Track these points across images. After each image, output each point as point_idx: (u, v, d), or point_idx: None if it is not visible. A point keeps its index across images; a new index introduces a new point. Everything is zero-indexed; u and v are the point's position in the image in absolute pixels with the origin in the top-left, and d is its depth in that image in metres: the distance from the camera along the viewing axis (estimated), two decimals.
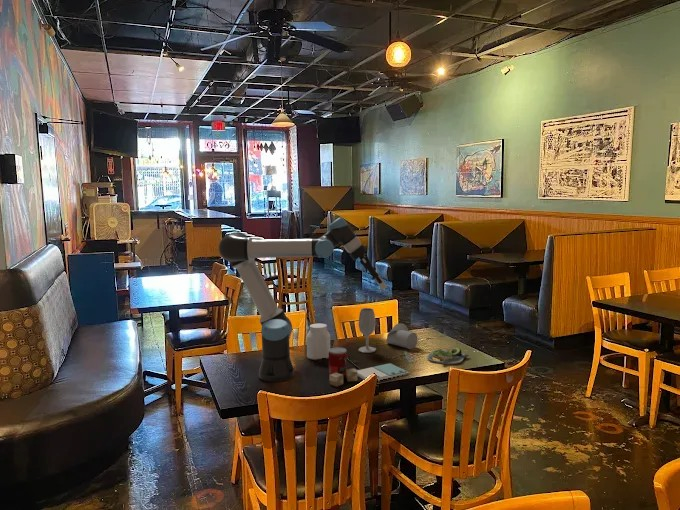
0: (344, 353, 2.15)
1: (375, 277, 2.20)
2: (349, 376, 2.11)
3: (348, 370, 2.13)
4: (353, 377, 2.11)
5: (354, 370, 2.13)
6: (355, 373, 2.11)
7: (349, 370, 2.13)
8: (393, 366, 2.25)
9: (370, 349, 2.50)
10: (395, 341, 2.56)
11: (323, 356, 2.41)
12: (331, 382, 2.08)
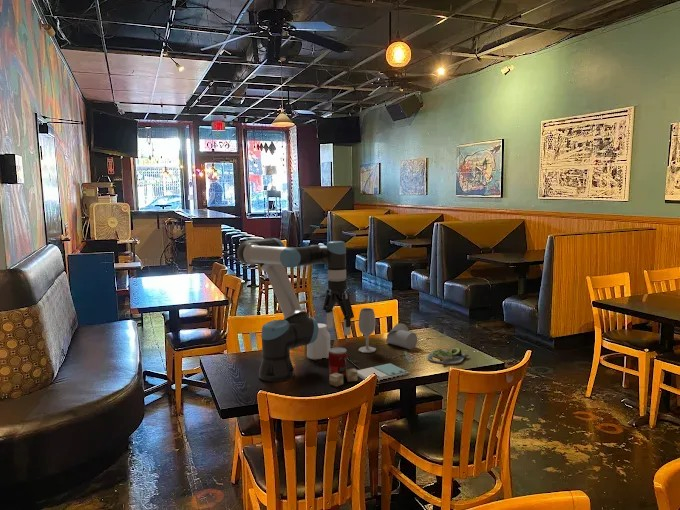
0: (344, 353, 2.15)
1: (348, 318, 1.98)
2: (349, 376, 2.11)
3: (348, 370, 2.13)
4: (353, 377, 2.11)
5: (354, 370, 2.13)
6: (355, 373, 2.11)
7: (349, 370, 2.13)
8: (393, 366, 2.25)
9: (370, 349, 2.50)
10: (395, 341, 2.56)
11: (323, 356, 2.41)
12: (331, 382, 2.08)
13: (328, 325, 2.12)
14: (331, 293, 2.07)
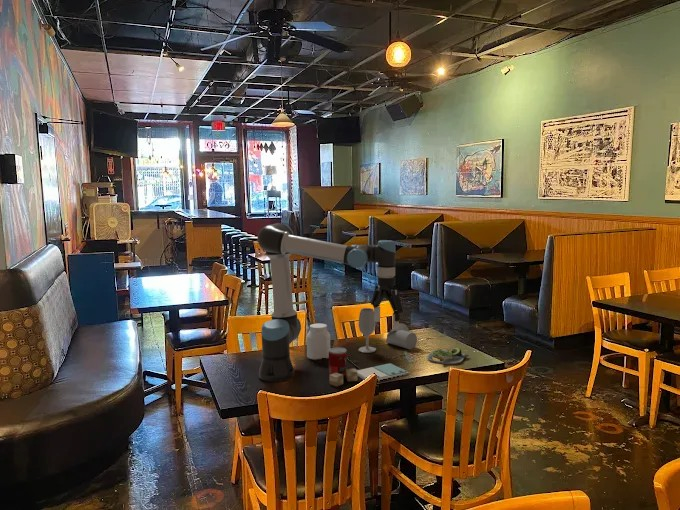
0: (344, 353, 2.15)
1: (398, 313, 2.11)
2: (349, 376, 2.11)
3: (348, 370, 2.13)
4: (353, 377, 2.11)
5: (354, 370, 2.13)
6: (355, 373, 2.11)
7: (349, 370, 2.13)
8: (393, 366, 2.25)
9: (370, 349, 2.50)
10: (394, 341, 2.56)
11: (323, 356, 2.41)
12: (331, 382, 2.08)
13: (375, 319, 2.25)
14: (380, 289, 2.20)
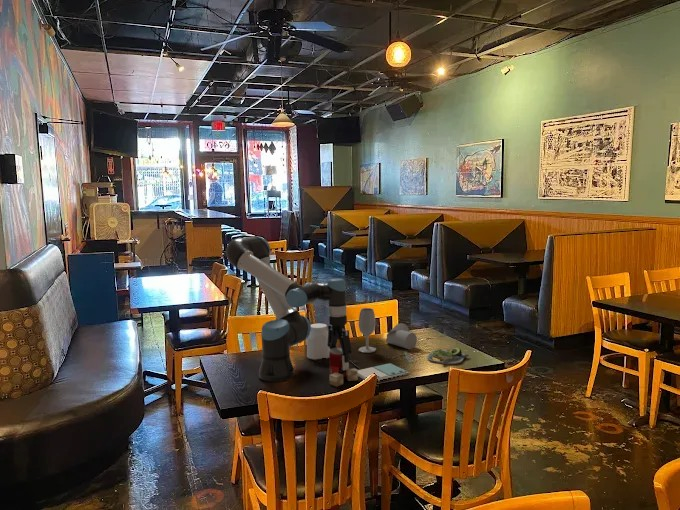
0: None
1: (346, 354, 2.11)
2: (349, 375, 2.11)
3: (348, 370, 2.13)
4: (353, 376, 2.12)
5: (354, 369, 2.13)
6: (355, 372, 2.12)
7: (349, 369, 2.13)
8: (393, 366, 2.25)
9: (370, 349, 2.50)
10: (394, 341, 2.56)
11: (323, 356, 2.41)
12: (331, 382, 2.08)
13: None
14: (332, 327, 2.18)
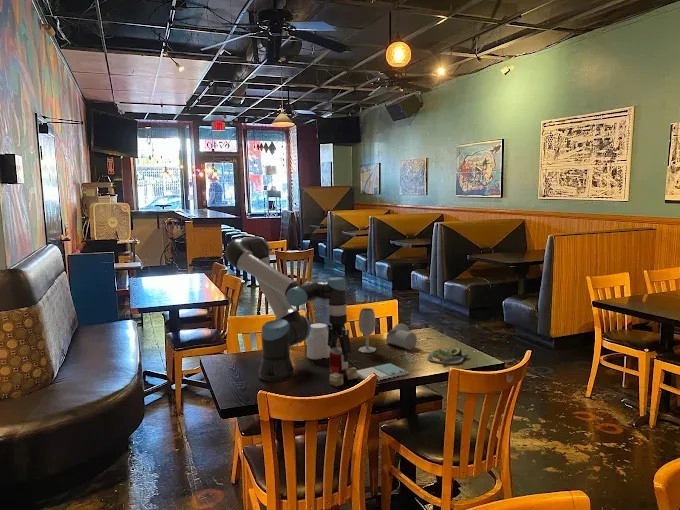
0: None
1: (346, 353, 2.12)
2: (349, 374, 2.12)
3: (347, 369, 2.14)
4: (353, 374, 2.12)
5: (353, 368, 2.14)
6: (354, 370, 2.12)
7: (348, 368, 2.14)
8: (393, 366, 2.25)
9: (370, 349, 2.50)
10: (394, 341, 2.56)
11: (323, 356, 2.41)
12: (331, 382, 2.08)
13: None
14: (332, 326, 2.18)
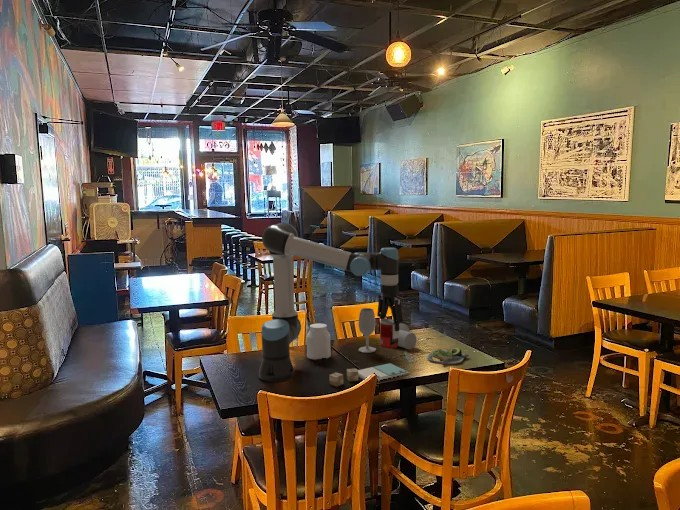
0: None
1: (397, 323, 2.14)
2: (350, 376, 2.11)
3: (349, 370, 2.13)
4: (354, 377, 2.12)
5: (355, 370, 2.13)
6: (356, 373, 2.12)
7: (350, 370, 2.13)
8: (393, 366, 2.25)
9: (370, 349, 2.50)
10: None
11: (323, 356, 2.41)
12: (331, 382, 2.08)
13: None
14: (383, 296, 2.20)
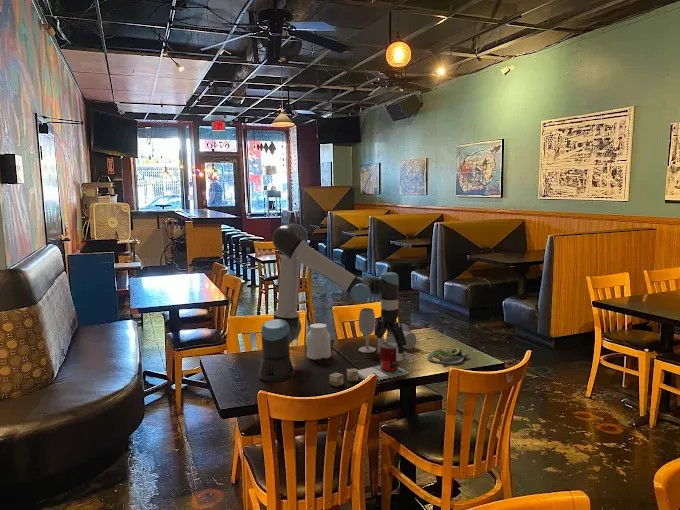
0: None
1: (401, 345, 2.13)
2: (350, 376, 2.11)
3: (349, 370, 2.13)
4: (354, 377, 2.12)
5: (355, 370, 2.13)
6: (356, 373, 2.12)
7: (350, 370, 2.13)
8: None
9: (370, 349, 2.50)
10: (393, 340, 2.57)
11: (323, 356, 2.41)
12: (331, 382, 2.08)
13: (379, 350, 2.26)
14: (383, 320, 2.21)
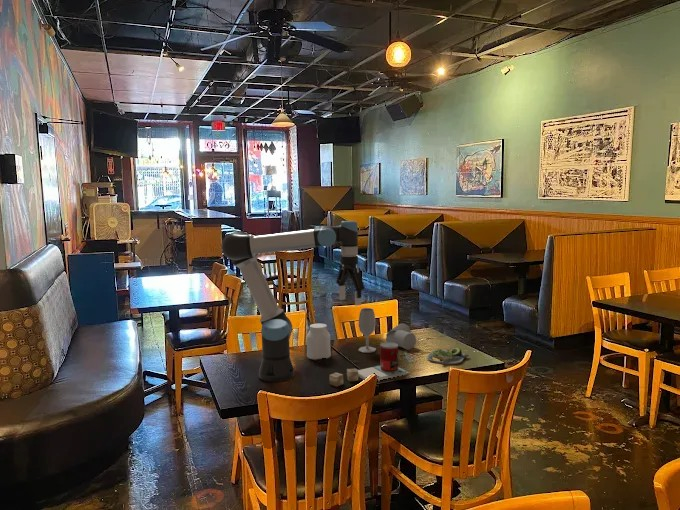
0: (396, 348, 2.18)
1: (359, 290, 2.21)
2: (350, 376, 2.11)
3: (349, 370, 2.13)
4: (354, 377, 2.12)
5: (355, 370, 2.13)
6: (356, 373, 2.12)
7: (350, 370, 2.13)
8: None
9: (370, 349, 2.50)
10: (393, 340, 2.57)
11: (323, 356, 2.41)
12: (331, 382, 2.08)
13: (340, 297, 2.35)
14: (344, 268, 2.30)
